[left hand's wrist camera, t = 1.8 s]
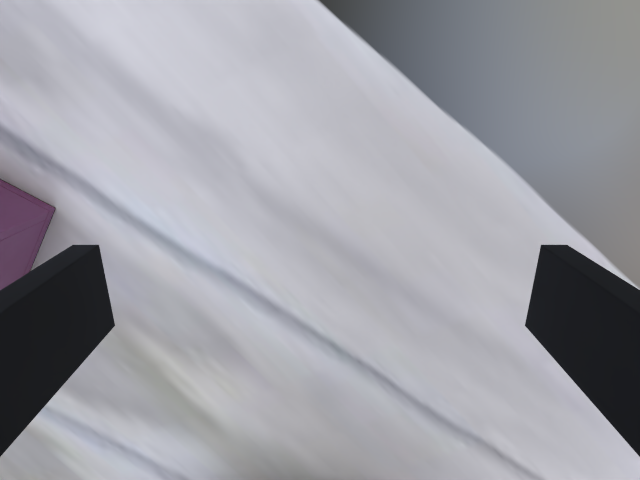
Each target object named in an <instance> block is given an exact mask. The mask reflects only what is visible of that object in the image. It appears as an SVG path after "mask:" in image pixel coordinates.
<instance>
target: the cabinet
mask: <svg viewBox="0 0 640 480" xmlns="http://www.w3.org/2000/svg"><path fill="white" fill-rule="evenodd" d="M54 210H55V208H54V207H52V206H50V205H48V204H46V203H44V202H43V201H41V200H39V199H37V198H35V197H33V196H31V195H29V194H27V193H25V192H23V191H22V190H20V189H18V188H16V187H14V186H12V185H10V184H8V183H6V182H4V181H2V180H1V179H0V290H2V289H3V288H5V287H6V286H8V285H10V284H11V283H13V282H14V281H16V280H18V279H19V278H21V277H22V276H24V275H26V274H27V273H29V272H30V269H31V267H32V264H33V262H34V260H35V257H36V255H37V252H38V250H39V247H40V245H41V242H42V240H43V237H44V235H45V232H46V230H47V228H48V225H49V223H50V220H51V218H52V215H53V213H54Z"/></svg>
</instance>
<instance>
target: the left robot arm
mask: <svg viewBox="0 0 640 480" xmlns="http://www.w3.org/2000/svg"><path fill="white" fill-rule="evenodd" d="M114 326H115V324H114V319H113V314H112V309H111V304H110V299H109V294H108V289H107V284H106V279H105V274H104V269H103V264H102V259H101V254H100V249H99V245H72V246H71V247H69V248H67V249H66V250H64V251H63V252H61V253H59V254H58V255H56V256H54V257H53V258H51V259H50V260H48V261H46V262H45V263H43V264H42V265H40V266H38V267H37V268H35V269H34V270H32V271H30V272H29V273H27V274H26V275H24V276H22V277H21V278H19V279H18V280H16V281H14V282H13V283H11V284H10V285H8V286H6V287H5V288H3V289H2V290H0V456H1V455H2V454H3V453H4V452H5V451H6V449H7V448H8V447H9V446H10V445H11V444H12V443H13V441H14V440H15V439H16V438H17V437H18V436H19V435H20V433H21V432H22V431H23V430H24V429H25V428H26V427H27V425H28V424H29V423H30V422H31V421H32V420H33V419H34V417H35V416H36V415H37V414H38V413H39V412H40V411H41V409H42V408H43V407H44V406H45V405H46V404H47V403H48V401H49V400H50V399H51V398H52V397H53V396H54V395H55V393H56V392H57V391H58V390H59V389H60V388H61V387H62V385H63V384H64V383H65V382H66V381H67V380H68V379H69V377H70V376H71V375H72V374H73V373H74V372H75V371H76V369H77V368H78V367H79V366H80V365H81V364H82V363H83V361H84V360H85V359H86V358H87V357H88V356H89V355H90V353H91V352H92V351H93V350H94V349H95V348H96V347H97V345H98V344H99V343H100V342H101V341H102V340H103V339H104V337H105V336H106V335H107V334H108V333H109V332H110V331H111V329H112V328H113V327H114ZM525 326H526V327H527V328H528V329H529V331H530V332H531V333H532V334H533V335H534V336H535V337H536V339H537V340H538V341H539V342H540V343H541V344H542V345H543V347H544V348H545V349H546V350H547V351H548V352H549V353H550V355H551V356H552V357H553V358H554V359H555V360H556V361H557V363H558V364H559V365H560V366H561V367H562V368H563V369H564V371H565V372H566V373H567V374H568V375H569V376H570V377H571V379H572V380H573V381H574V382H575V383H576V384H577V385H578V387H579V388H580V389H581V390H582V391H583V392H584V393H585V395H586V396H587V397H588V398H589V399H590V400H591V401H592V403H593V404H594V405H595V406H596V407H597V408H598V409H599V411H600V412H601V413H602V414H603V415H604V416H605V417H606V419H607V420H608V421H609V422H610V423H611V424H612V425H613V427H614V428H615V429H616V430H617V431H618V432H619V433H620V435H621V436H622V437H623V438H624V439H625V440H626V441H627V443H628V444H629V445H630V446H631V447H632V448H633V449H634V451H635V452H636V453H637V454H638V455H639V456H640V290H638V289H637V288H635V287H634V286H632V285H630V284H629V283H627V282H626V281H624V280H622V279H621V278H619V277H618V276H616V275H614V274H613V273H611V272H610V271H608V270H606V269H605V268H603V267H602V266H600V265H598V264H597V263H595V262H594V261H592V260H590V259H589V258H587V257H586V256H584V255H582V254H581V253H579V252H577V251H576V250H574V249H573V248H571V247H569V246H568V245H541V249H540V254H539V259H538V264H537V269H536V274H535V279H534V284H533V289H532V294H531V299H530V304H529V309H528V314H527V319H526V324H525Z"/></svg>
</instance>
